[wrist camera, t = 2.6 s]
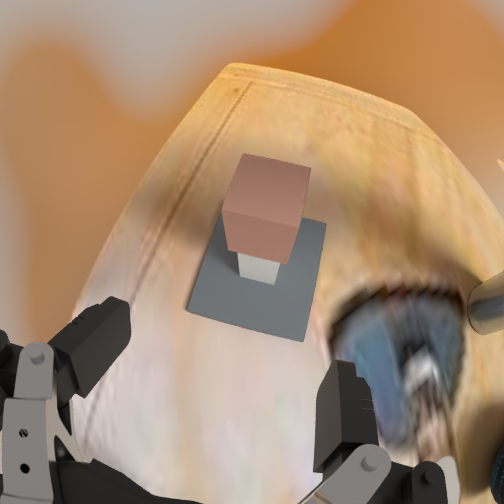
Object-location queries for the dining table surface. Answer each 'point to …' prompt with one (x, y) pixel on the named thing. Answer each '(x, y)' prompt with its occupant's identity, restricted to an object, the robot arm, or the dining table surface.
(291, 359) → the dining table surface
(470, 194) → the dining table surface
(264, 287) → the square base with post
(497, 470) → the decorative sphere
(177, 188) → the dining table surface
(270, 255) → the cap
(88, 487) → the robot arm
